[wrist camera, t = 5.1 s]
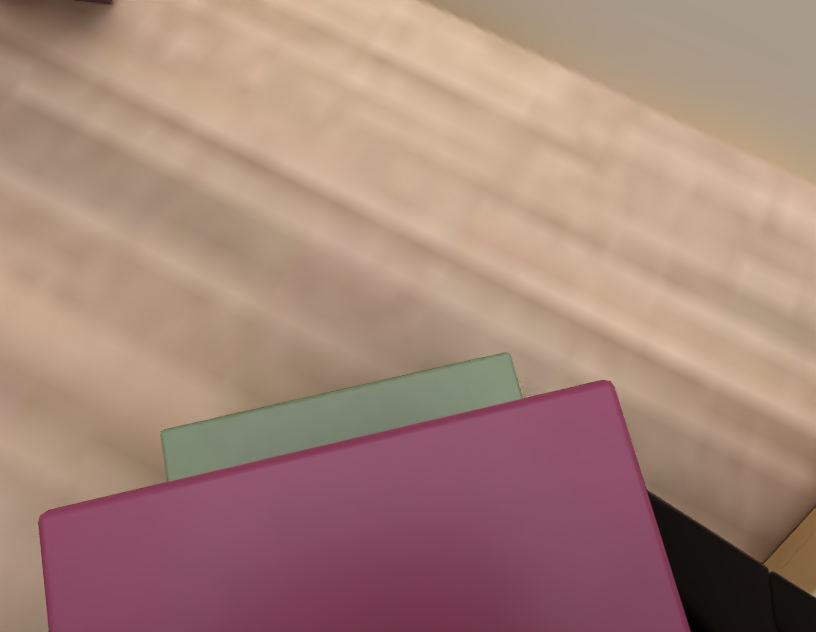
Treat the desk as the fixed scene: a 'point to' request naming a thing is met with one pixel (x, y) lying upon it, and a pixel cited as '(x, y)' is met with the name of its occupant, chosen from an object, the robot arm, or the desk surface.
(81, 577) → the mulberry block
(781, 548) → the tray
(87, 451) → the desk surface
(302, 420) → the sage block
